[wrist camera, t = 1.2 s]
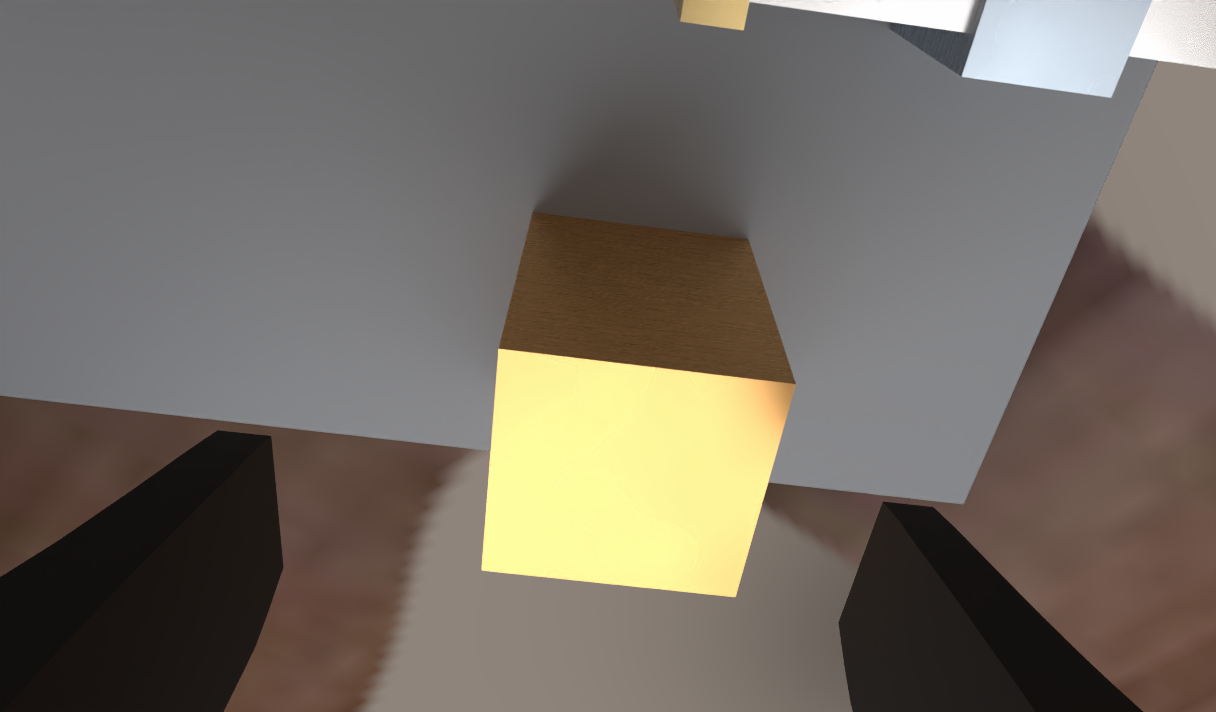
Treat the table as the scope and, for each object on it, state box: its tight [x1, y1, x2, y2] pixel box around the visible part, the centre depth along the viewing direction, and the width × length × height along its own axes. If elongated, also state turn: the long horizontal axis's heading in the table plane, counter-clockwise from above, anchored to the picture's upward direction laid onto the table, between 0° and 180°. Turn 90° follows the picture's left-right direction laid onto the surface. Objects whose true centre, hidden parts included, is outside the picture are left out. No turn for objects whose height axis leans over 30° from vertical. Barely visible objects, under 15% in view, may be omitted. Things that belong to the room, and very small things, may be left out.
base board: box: [0, 0, 1158, 504], centre depth 15 cm, size 16×22×2 cm
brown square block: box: [482, 212, 796, 597], centre depth 15 cm, size 4×4×5 cm
